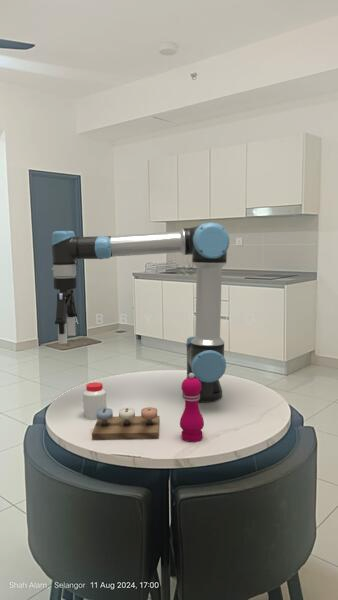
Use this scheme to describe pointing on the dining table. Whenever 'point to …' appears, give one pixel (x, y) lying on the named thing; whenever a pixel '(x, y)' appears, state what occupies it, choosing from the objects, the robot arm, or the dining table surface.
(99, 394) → the pill bottle
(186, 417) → the pepper mill
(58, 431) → the dining table surface
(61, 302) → the robot arm
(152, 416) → the button
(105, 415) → the button
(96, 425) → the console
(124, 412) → the button
